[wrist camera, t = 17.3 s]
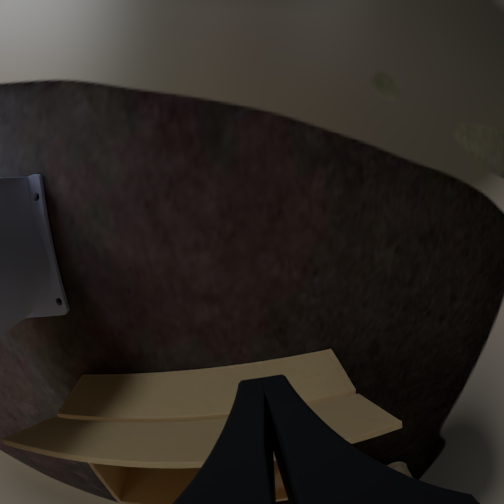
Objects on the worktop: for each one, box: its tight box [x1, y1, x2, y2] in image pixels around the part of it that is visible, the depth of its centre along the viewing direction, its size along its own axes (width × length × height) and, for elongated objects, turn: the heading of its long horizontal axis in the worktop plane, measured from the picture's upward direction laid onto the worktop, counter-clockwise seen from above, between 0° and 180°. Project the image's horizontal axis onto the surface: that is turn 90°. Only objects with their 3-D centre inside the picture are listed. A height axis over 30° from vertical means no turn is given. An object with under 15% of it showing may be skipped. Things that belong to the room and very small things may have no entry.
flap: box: [2, 394, 402, 468], centre depth 12 cm, size 5×18×1 cm
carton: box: [57, 349, 356, 504], centre depth 18 cm, size 11×18×5 cm, turn 98°
